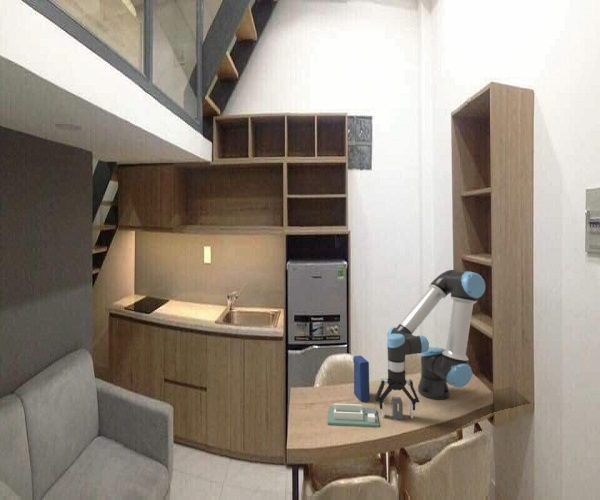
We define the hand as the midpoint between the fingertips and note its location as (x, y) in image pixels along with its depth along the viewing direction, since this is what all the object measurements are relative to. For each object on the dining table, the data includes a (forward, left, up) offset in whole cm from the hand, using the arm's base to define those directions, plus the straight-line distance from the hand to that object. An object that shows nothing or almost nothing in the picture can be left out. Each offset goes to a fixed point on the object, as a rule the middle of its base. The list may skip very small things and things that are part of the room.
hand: (397, 416), depth 151 cm
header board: (+20, +2, 0) cm, 20 cm away
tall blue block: (+15, -17, 0) cm, 23 cm away
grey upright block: (0, 0, 0) cm, 0 cm away
